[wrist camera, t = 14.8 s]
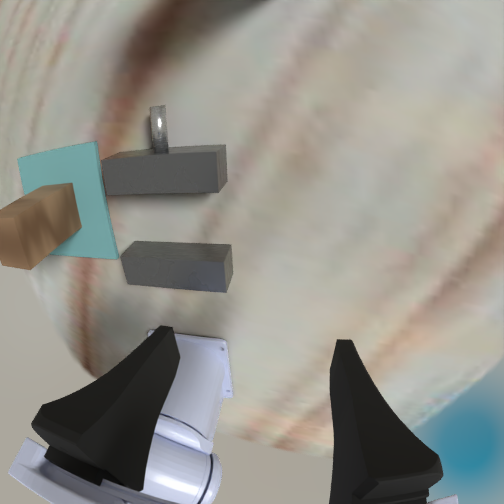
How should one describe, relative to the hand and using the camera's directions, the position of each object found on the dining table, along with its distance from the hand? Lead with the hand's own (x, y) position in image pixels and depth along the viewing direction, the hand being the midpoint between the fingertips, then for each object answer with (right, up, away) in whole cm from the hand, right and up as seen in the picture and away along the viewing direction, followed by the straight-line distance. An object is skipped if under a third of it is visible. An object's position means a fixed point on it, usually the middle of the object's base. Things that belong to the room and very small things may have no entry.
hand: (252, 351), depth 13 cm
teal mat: (-17, +8, +10) cm, 21 cm away
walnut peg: (-17, +8, +10) cm, 21 cm away
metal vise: (-6, +8, +8) cm, 13 cm away
